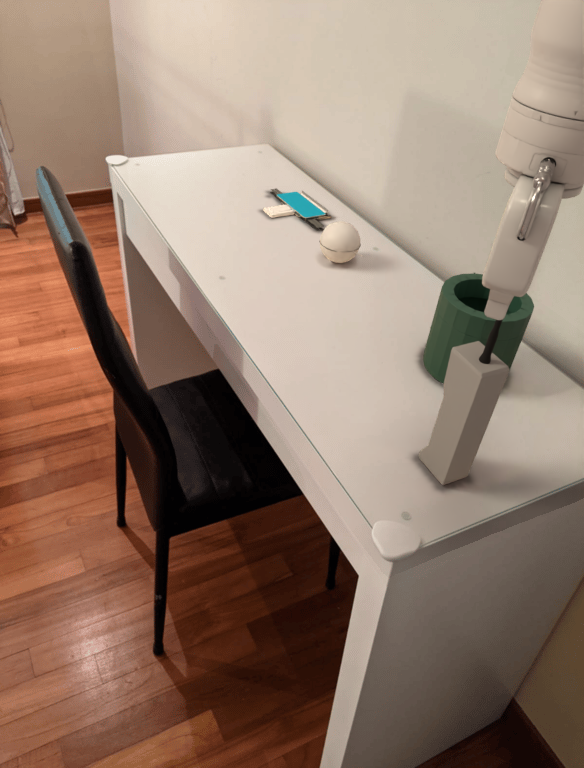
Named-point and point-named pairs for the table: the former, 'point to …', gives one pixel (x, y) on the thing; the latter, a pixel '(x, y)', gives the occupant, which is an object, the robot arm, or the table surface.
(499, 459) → the table surface
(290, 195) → the phone stand
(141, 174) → the table surface
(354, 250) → the cream domed seamed part
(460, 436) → the vintage mobile phone
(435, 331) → the green hollow cylinder
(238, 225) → the table surface
